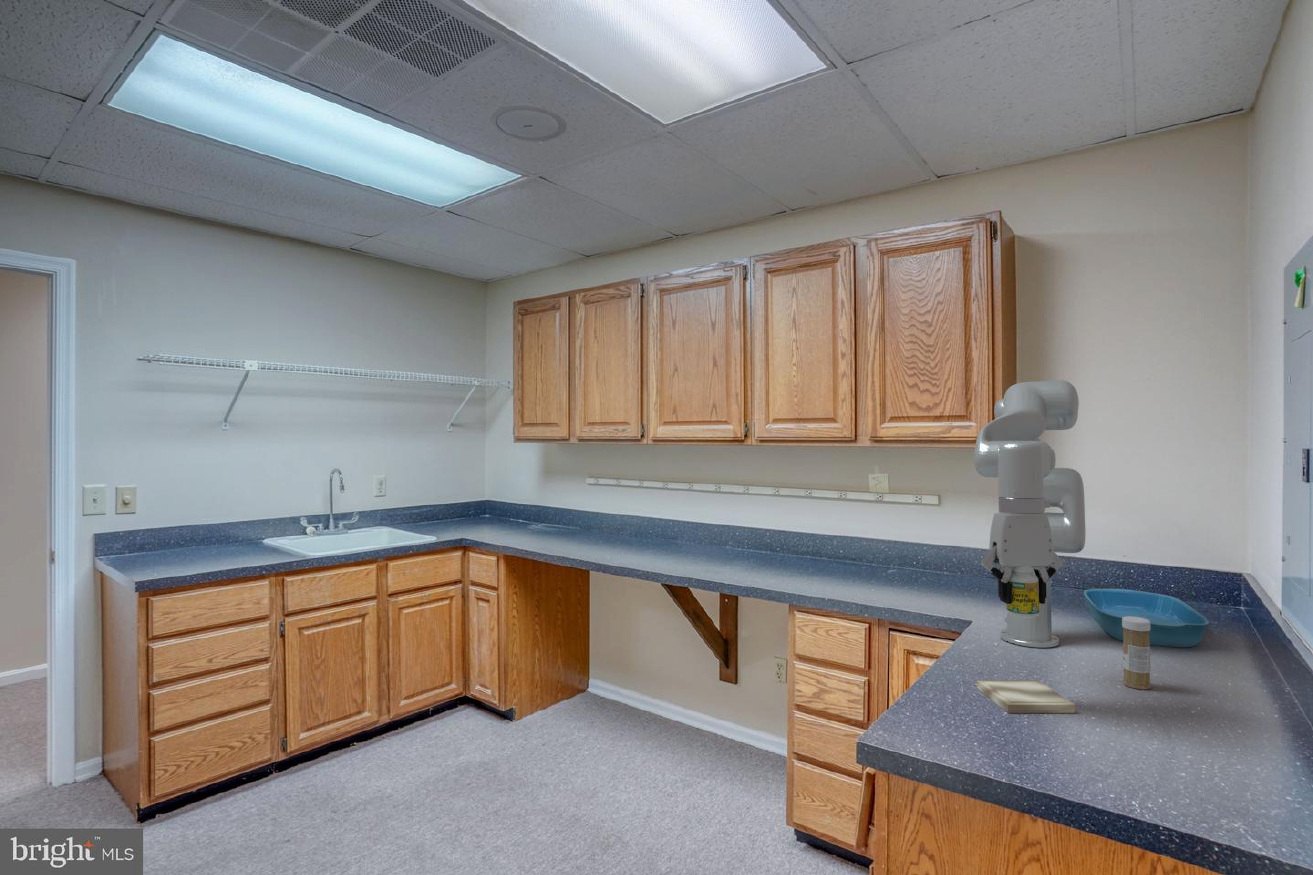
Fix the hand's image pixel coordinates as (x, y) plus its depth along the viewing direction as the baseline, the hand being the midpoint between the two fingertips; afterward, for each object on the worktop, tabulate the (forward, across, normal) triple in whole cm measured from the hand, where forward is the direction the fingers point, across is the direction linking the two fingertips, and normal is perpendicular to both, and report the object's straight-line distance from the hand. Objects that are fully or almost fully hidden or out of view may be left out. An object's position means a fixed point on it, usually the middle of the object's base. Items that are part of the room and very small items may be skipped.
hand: (1022, 601), depth 123 cm
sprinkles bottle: (+19, -26, -7) cm, 33 cm away
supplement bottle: (+3, 0, 0) cm, 3 cm away
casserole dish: (+19, -54, -46) cm, 74 cm away
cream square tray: (+19, 0, 0) cm, 19 cm away
